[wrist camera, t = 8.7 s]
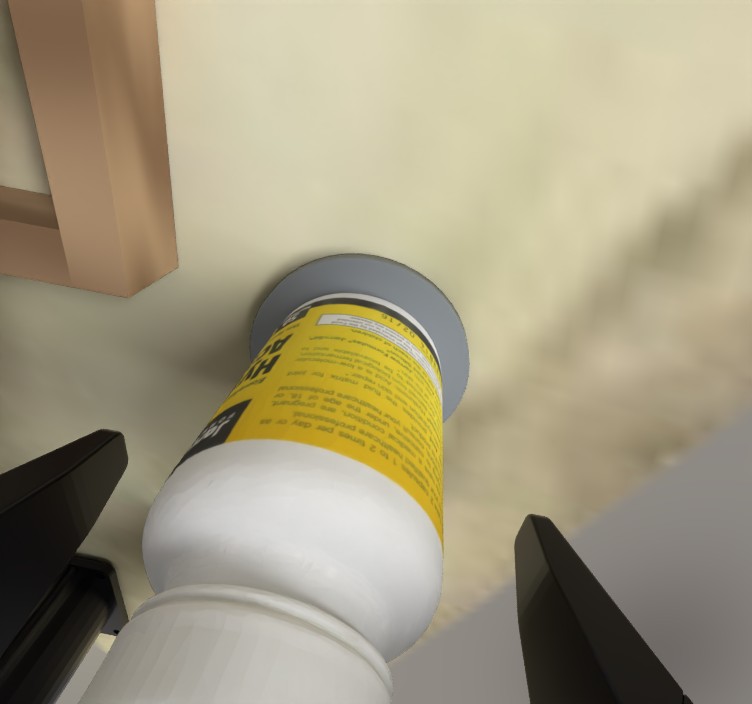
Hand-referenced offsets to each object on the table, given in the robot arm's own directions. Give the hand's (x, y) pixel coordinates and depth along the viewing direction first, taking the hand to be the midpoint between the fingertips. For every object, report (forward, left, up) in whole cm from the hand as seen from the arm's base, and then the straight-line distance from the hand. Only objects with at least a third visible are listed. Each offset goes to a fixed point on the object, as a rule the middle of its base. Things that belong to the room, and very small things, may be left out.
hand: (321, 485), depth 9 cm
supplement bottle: (0, 0, -5) cm, 5 cm away
